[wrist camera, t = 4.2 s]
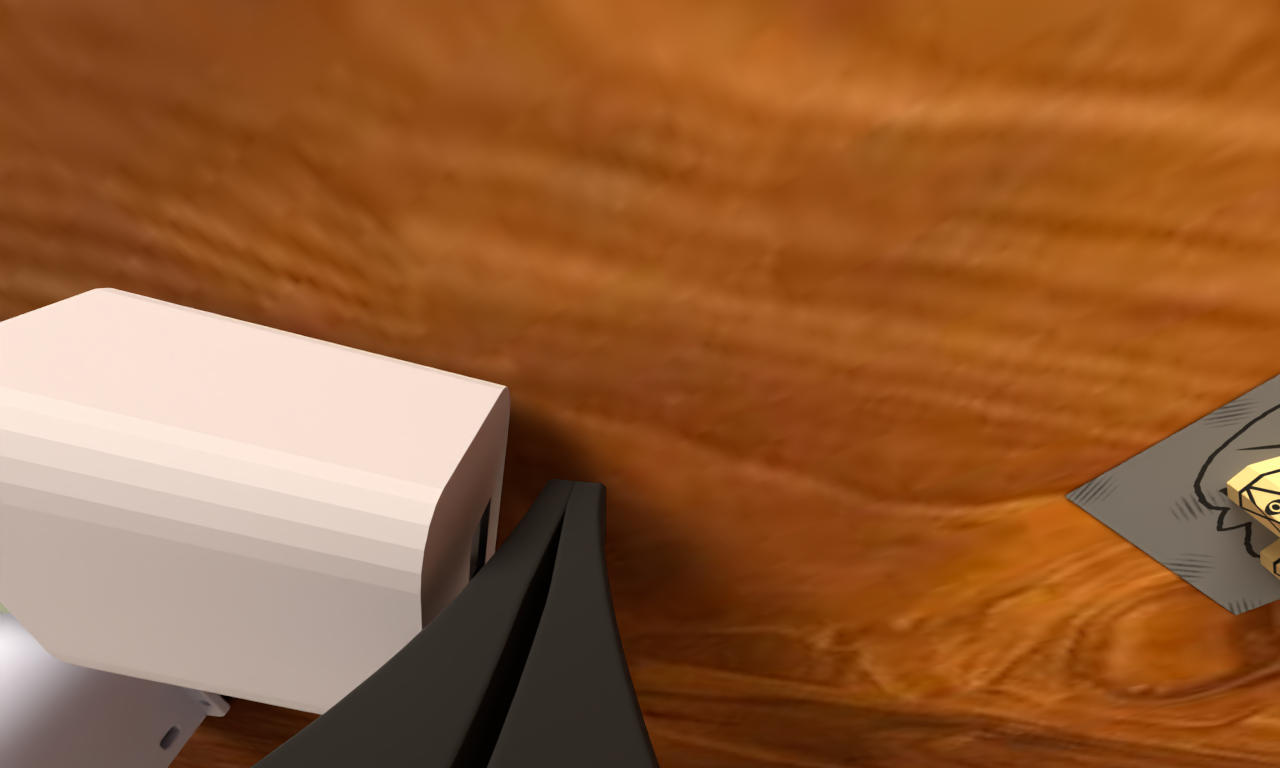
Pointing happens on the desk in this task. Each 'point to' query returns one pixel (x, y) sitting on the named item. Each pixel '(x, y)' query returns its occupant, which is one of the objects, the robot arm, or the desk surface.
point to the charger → (234, 497)
